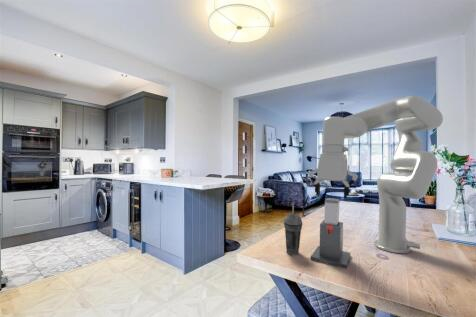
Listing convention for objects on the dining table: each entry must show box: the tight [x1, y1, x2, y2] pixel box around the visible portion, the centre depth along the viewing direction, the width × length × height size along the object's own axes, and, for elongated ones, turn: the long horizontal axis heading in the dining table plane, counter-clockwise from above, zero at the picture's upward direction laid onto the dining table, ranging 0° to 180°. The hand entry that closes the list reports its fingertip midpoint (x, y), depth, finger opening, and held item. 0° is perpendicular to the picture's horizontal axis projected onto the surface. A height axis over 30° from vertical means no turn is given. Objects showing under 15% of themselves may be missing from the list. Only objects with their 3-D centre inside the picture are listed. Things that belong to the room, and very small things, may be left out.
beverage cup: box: [283, 202, 303, 256], centre depth 91 cm, size 7×7×20 cm
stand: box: [310, 219, 351, 269], centre depth 87 cm, size 12×12×13 cm
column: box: [324, 197, 340, 226], centre depth 87 cm, size 4×4×20 cm
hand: (331, 196), depth 86 cm, fingers open, 9 cm apart
